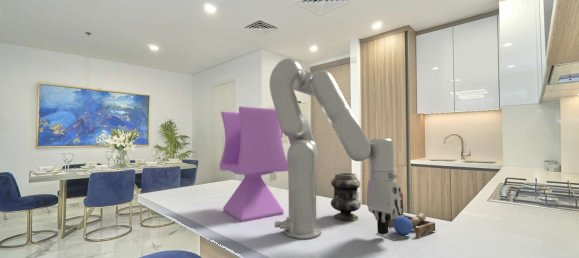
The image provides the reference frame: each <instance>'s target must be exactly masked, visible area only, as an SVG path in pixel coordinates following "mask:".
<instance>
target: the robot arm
mask: <svg viewBox="0 0 579 258" xmlns="http://www.w3.org/2000/svg"><path fill="white" fill-rule="evenodd" d="M269 76H270V77H269V92H270V96H271V100H272V103H273V106H274V109H275V111H276V114H277V117H278V120H279V124H280V128H281V133H283V135H284V136H285V137H287V138H288V141H289V147H288V150H287V153H286V160H287V163H288V171H287V173H288V175H287V176H288V217H286V218H285V219H286V220H285V219H284V220H283V221H275V222H274V228H279V230H283V233H284V234H285V236H287V237H289V238H294V239H301V240H302V239H303V240H304V239H313V238H317V237H319V236H320V235H321V234H322V229H321V228H320V227H319V226H318V225H317V173H316V172H317V171H316V160H317V158H318V156H319V155H318V154H319V152H318V148H317V144H316V140H315V137H314V135H313V132H312V128H311V126H310V123H309V120H308V119H307V118H306V117H305V116H304V114H303V112H302V110H301V108H300V104H299V102H298V98H297V95H296V91H297V92H299V93H302V94H306V95H309V96H311V97H314V98H315V99H316V101H317V103H318V105H319V107H320V108H321V111H322V113H323V114H324V116H325V119H326V120H327V122H328V123H329V124H330V126H332V129H333V130H334V132H335V134H336V136H337V137H338V138H339V141H340V143H341V145H342V146H343V148H344V150H345V153H346V154H347V156H348V157H349V159H351V160H353V161H355V162H363V161H365V160H367V159H368V161H369V179H368V180H367V188H366V206H367V209H368V212H370V213H372V214H373V216H374V218H375V220H376V222H377V223H376V224H377V225H376V226H377V227H376V228H377V233H379V234H382V235H384V234H387V233H388V230H389V228H388V221H390V219H391V218H398V216H399V215H398V212H400V195H399V189H398V187H399V186H398V182H397V181H396V180H395V179H397V178H398V175H397V174H396V173H395V168H394V167H395V162H394V161H395V158H394V157H395V156H394V153H395V152H394V151H395V150H394V141H393V140H392V139H391V138H381V137H379V138H376V137H375V138H372V139H371V138H370V139H368V138H367V136H366V135H365V133H364V131H363V129H362V127H361V125H360V123H359V121H358V120H357V119H356V117H355V115H354V113H353V111H352V109H351V107H350V106H349V104H348V102H347V101H346V99H345V97H344V95H343V93H342V92H341V90H340V88H339V85H338V84H337V83H336V80H335V79H334V77H333V75H332V74H331V73H330V72H329V71H328V70H324V69H322V70H321V69H320V70H319V69H318V70H316V71H315V72H310V71H307V70H304V69H303V67H302V65H301V64H300V63H299V62H298V61H297V60H296V59H294V58H290V57H289V58H283V59H281V60H280V61H279V62H278V63H277V64H275V66H274V68H273V69H272V71H271V74H270V75H269Z"/></svg>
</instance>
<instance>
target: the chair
mask: <svg viewBox="0 0 579 258" xmlns="http://www.w3.org/2000/svg"><path fill="white" fill-rule="evenodd" d="M220 114H221V118H222V119H221V120H222V124H223V127H224V136H225V137H224V147H223V152H222V156H221V159H220V162H219V170H220V171H223V172H224V171H228V172H232V173H234V174H236V175H239V176H244V178H243V179H242V181H241V182H240V183H239V185H238V187H237V188H236V189H235V191H234V192H233V194H232V195H231V196H230V198H229V199H228V200H227V202H226V203H225V204H224V206H223V210H222V211H223V213H225V214H227V215H228V216H230V217H232V218H233V219H235V220H237V221H238V222H240V223H246V222H250V221H251V222H252V221H254V220H255V221H256V220H261V219H266V218H271V217H277V216H282V215H284V214H285V213H284V209H283V207H282V206H281V205H280V203H279V202H278V200H277V199H276V198H275V196H274V194H273V193H272V191H271V190H270V188H269V187H268V186H267V184H266V182H265V181H264V180H263V179H262V176H265V175H268V174H273V173H275V172H276V173H281V172H288V163H287V156H286V154H285V150H284V146H283V139H282V137H283V136H282V130H281V128H280V124H279V120H278V117H277V114H276V111H275V108H264V107H251V106H239V107H238V112H237V111H236V112H235V111H221V113H220Z"/></svg>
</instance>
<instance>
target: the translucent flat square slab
mask: <svg viewBox="0 0 579 258" xmlns="http://www.w3.org/2000/svg"><path fill="white" fill-rule="evenodd" d="M375 234H376V235H377V236H380V237H383V238H385V239H388V238H389V239H388V240H392V241H398V240H401V239H404V238H406V237H405V236H406V235H401V234H399V233H397V232H396V231H395V229H392V228H389V229H388V233H387V234H384V235H382V234H379V233H378V232H376V233H375ZM403 237H404V238H403Z"/></svg>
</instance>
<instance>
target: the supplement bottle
mask: <svg viewBox="0 0 579 258" xmlns="http://www.w3.org/2000/svg"><path fill="white" fill-rule="evenodd" d="M398 189H399V195H400V212H398V216H400V215H401V214H402V215H404V193H403V192H402V191H401V187H400V186H398ZM400 213H401V214H400Z"/></svg>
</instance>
